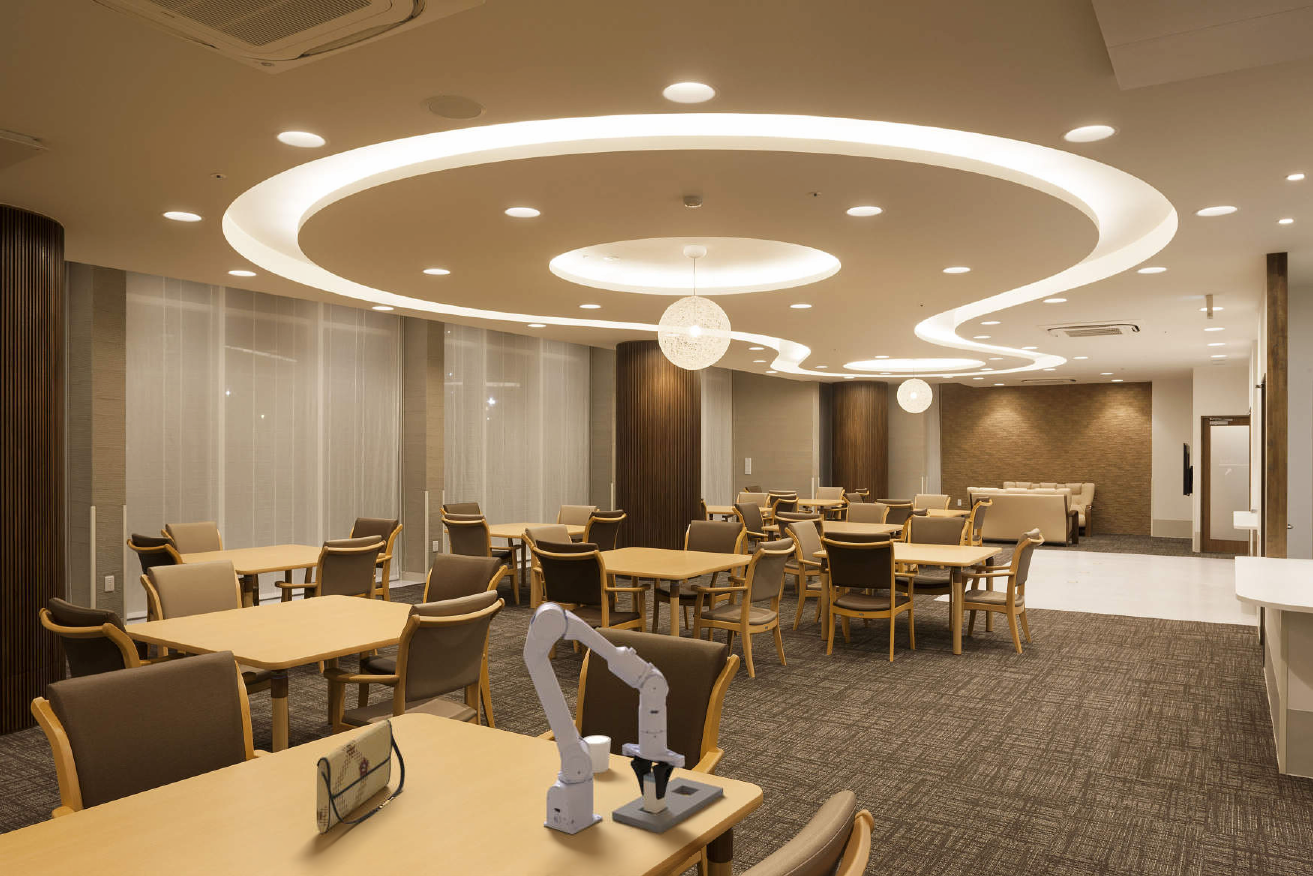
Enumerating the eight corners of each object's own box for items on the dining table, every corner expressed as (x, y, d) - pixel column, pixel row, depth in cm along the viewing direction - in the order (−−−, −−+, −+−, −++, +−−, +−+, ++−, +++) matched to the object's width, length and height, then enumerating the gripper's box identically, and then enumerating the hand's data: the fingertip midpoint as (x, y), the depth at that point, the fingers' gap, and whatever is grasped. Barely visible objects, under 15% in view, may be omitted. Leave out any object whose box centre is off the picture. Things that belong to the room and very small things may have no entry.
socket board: (660, 833, 163) (660, 826, 164) (612, 819, 170) (612, 811, 170) (723, 795, 183) (723, 788, 183) (678, 783, 190) (677, 777, 190)
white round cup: (613, 764, 203) (612, 735, 203) (608, 774, 196) (608, 744, 197) (585, 763, 204) (585, 734, 204) (579, 773, 197) (579, 743, 197)
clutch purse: (343, 839, 162) (344, 761, 163) (310, 837, 163) (311, 759, 164) (412, 783, 191) (413, 717, 192) (384, 782, 192) (384, 716, 193)
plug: (656, 813, 170) (656, 778, 170) (643, 810, 172) (643, 775, 172) (665, 808, 173) (665, 774, 173) (652, 805, 175) (652, 771, 175)
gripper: (692, 730, 172) (693, 797, 171) (636, 718, 180) (636, 782, 179) (673, 739, 166) (673, 808, 165) (616, 727, 174) (616, 793, 174)
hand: (653, 796), depth 172 cm, fingers closed on plug, 3 cm apart
